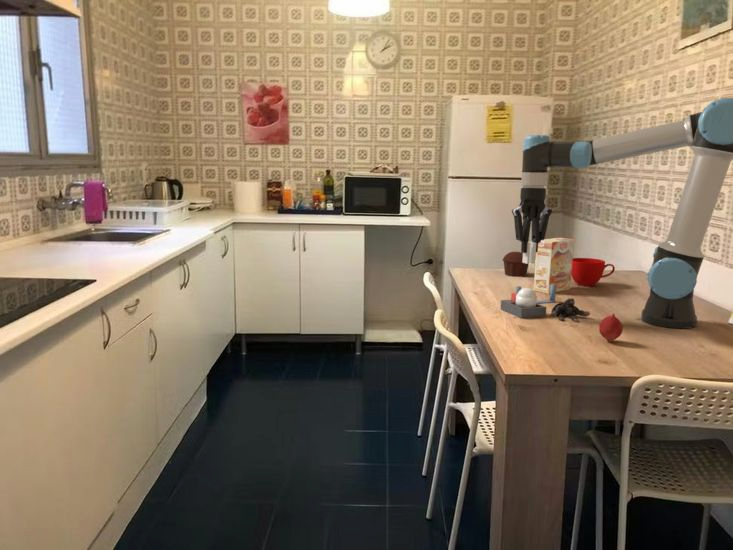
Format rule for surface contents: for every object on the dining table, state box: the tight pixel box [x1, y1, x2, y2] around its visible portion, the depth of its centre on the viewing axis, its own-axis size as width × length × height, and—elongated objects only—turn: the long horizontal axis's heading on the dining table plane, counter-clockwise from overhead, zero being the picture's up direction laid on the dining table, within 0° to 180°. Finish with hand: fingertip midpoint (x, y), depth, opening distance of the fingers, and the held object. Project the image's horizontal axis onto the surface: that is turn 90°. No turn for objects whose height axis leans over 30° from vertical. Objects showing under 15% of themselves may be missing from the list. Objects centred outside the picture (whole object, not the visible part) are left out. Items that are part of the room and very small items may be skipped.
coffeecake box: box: [532, 237, 575, 295], centre depth 221 cm, size 15×7×20 cm, turn 129°
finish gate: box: [514, 284, 557, 304], centre depth 201 cm, size 2×16×6 cm, turn 108°
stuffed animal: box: [549, 297, 591, 323], centre depth 184 cm, size 12×10×12 cm
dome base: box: [500, 292, 547, 319], centre depth 187 cm, size 12×9×5 cm
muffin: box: [502, 251, 530, 278], centre depth 253 cm, size 12×11×10 cm
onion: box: [598, 312, 624, 343], centre depth 157 cm, size 6×6×8 cm
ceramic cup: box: [571, 257, 616, 288], centre depth 232 cm, size 13×17×10 cm
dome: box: [516, 287, 538, 308], centre depth 185 cm, size 6×6×6 cm
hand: (528, 262), depth 183 cm, fingers closed
